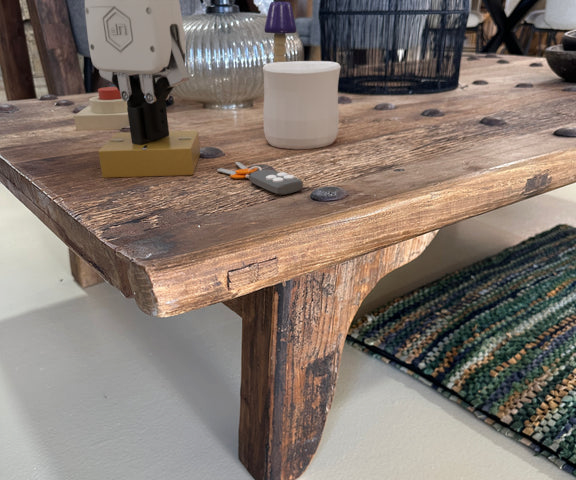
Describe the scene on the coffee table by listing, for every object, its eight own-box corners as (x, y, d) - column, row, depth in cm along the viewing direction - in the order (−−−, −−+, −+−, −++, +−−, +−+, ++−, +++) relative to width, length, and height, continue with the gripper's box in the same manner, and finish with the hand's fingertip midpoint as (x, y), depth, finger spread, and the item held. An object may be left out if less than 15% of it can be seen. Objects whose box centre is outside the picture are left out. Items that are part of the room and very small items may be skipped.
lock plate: (102, 178, 63) (97, 149, 62) (120, 156, 71) (116, 131, 70) (193, 175, 63) (190, 147, 62) (200, 154, 72) (198, 128, 70)
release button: (97, 102, 86) (95, 90, 85) (102, 98, 89) (101, 87, 88) (121, 102, 86) (119, 90, 85) (126, 98, 89) (124, 86, 88)
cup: (251, 140, 78) (247, 63, 73) (311, 130, 83) (311, 58, 78) (288, 154, 71) (287, 71, 66) (351, 142, 76) (354, 64, 71)
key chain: (307, 190, 58) (307, 176, 57) (277, 198, 56) (277, 183, 55) (237, 164, 67) (237, 151, 66) (210, 170, 65) (209, 157, 64)
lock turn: (141, 144, 64) (135, 105, 62) (131, 143, 64) (126, 104, 62) (169, 135, 68) (165, 98, 66) (160, 134, 68) (156, 97, 66)
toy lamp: (276, 117, 92) (273, 1, 84) (302, 119, 90) (301, 1, 82) (261, 122, 88) (256, 2, 81) (287, 125, 86) (285, 1, 79)
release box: (76, 130, 85) (71, 103, 84) (90, 120, 92) (85, 94, 91) (143, 128, 86) (139, 101, 84) (152, 118, 93) (148, 92, 91)
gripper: (42, -47, 58) (76, 137, 66) (164, -55, 51) (184, 151, 59) (97, -44, 63) (122, 124, 72) (212, -51, 57) (225, 136, 65)
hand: (150, 135), depth 66 cm, fingers closed
